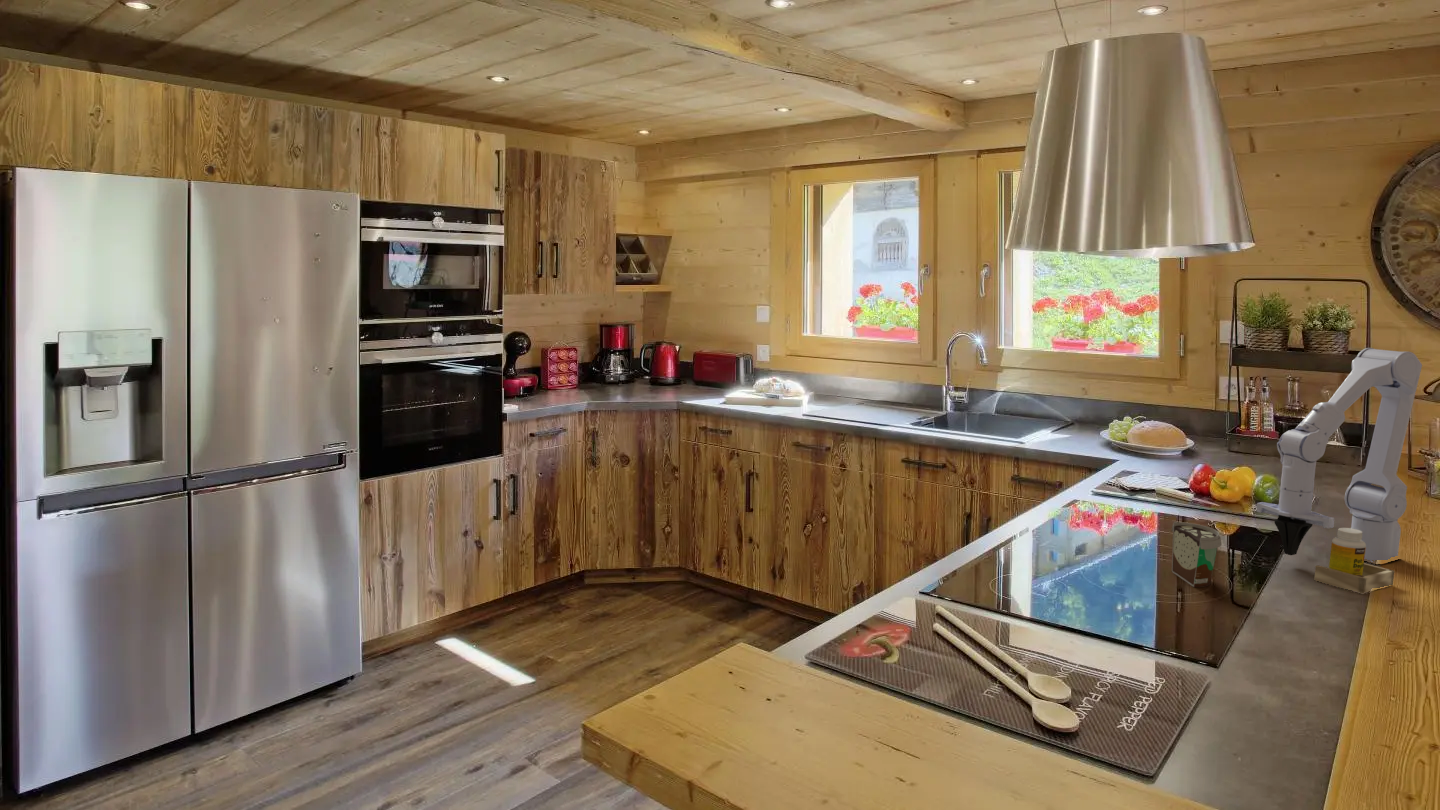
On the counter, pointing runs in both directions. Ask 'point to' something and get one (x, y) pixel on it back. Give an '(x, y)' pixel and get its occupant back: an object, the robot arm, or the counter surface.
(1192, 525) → the food container
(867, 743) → the counter surface
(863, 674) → the counter surface
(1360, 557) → the supplement bottle
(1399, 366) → the robot arm
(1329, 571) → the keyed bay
